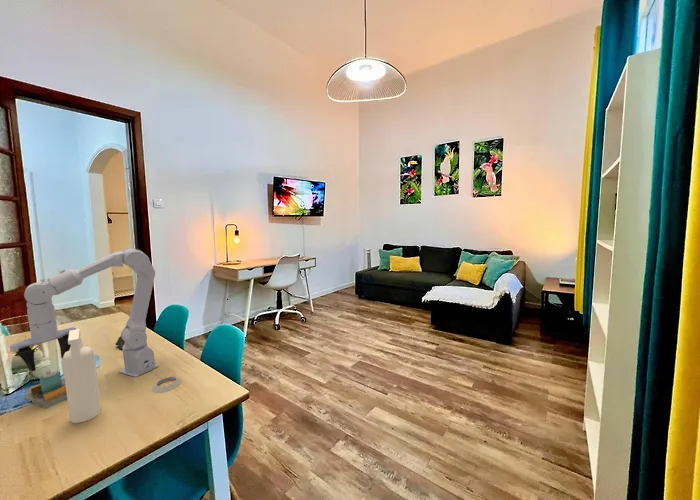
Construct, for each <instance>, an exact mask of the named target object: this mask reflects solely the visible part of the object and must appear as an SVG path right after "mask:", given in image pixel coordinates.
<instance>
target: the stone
mask: <svg viewBox="0 0 700 500" xmlns="http://www.w3.org/2000/svg"><path fill="white" fill-rule="evenodd" d="M124 343H125V342H124V340H123V339H122V338H121V335H120V336H119V337H118V339H117V340H116V342H115V343H114V344H115V346H118V347H119V349H121V350H122V351H123V349H122V347H123V345H124Z"/></svg>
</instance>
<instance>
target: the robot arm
mask: <svg viewBox="0 0 700 500" xmlns="http://www.w3.org/2000/svg"><path fill="white" fill-rule="evenodd" d="M124 265H125V266H127V267H128V268H131V270H133V272H134V273H136V274H137V279H136V280H137V281H136V285H135V290H134V295H133V300H132V304H131V308H130V312H129V313H130V314H129V318H128V319H127V321H126V323H125V326H124V328H123V329H122V330H121V332H120V336H121V338H122V339H123V340H124V342H125V343H124V345H123V347H122V349H123V350H122V349H121V350H122V354H123V355H122V356H123V365H124V367H123V369H120V370H119V371H118V372H119V373H121V374H125V375H128V376H130V377H133V378H137V377H140V376H141V375H143V374H146V373H147V372H149V371H152V370H154V369H156V368H158V367H159V366H158V365H157V364H156V362H155V353H154V350H153V349H152V348H150V347H149V346H148V342H147V341H148V340H147V339H148V336H147V333H146V330H147V323H146V319H147V316H148V315H147V314H148V309H149V304H150V301H151V295H152V291H153V286H154V281H155V276H156V270H155V269H154V266H153V265H152V263H151V261H150V257H149V256H148V255H147V254H145V252H143V251H142V250H140V249H137V248H134V247H127V248H124V249H122V250H119V251H116V252H113V253H110V254H108V255H105V256H103V257H102V258H101V257H100V259H97V260H95V261H93V262H90V263H88V264H87V265H84V266H83V267H81V268H79V269H74V268H67V269H65V268H63V269H61V270H59V273H56V274H54V275H51V276H49V277H48V278H44V277H43V278H41V279H39V281H38V282H34V283H30V284H29V285H28V286H27V287H26V288H25V290H24V293H23V296H24V299H25V301H26V308H27V309H26V313H27V319H28V326H29V331H30V337H29V338H26V339H24V340H21V341H19V342H15V343H12V344H9V350H10V352H11V353H16V354H17V356H19V357H20V359H22V360H23V362H24V363H25V365H26V366H27V368H28V371H29V372H35V371H36V364H35V357H34V356H35V349H32V347H34V346H37V345H41V344H44V343H47V342H51V341H55V340H57V342H58V345H59V348H60V349H59V351H60V357H61V359H62V358H63V356H64V354H65V352H67V351H69V350H71V344H69V345H68V337H69V331H70V330H75V329H77V327H74V326H73V327H68V328H64V329H59V330H58V325H57V317H56V310H55V305H54V304H53V296H58V295H60V294H63V293H64V292H66V291H69V290H72V289H74V288H75V287H78V286H80V285H82V283H83V280H84V279H85V278H87V277H88V278H89V276H92V275H95V274H97V273H100V272H102V271H104V270H107V269H109V268H111V267H116V268H117V267H119V268H121V267H124Z"/></svg>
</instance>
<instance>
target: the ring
mask: <svg viewBox="0 0 700 500" xmlns="http://www.w3.org/2000/svg"><path fill="white" fill-rule="evenodd" d="M170 381H174V382H172V383H170V384H167V385H162V386H160V385H161V384H163V383H165V382H170ZM182 382H183V381H182V379H180V378H179V377H176V376H167V377H163V378H161V379H160V380H157V382H156V383H155V384H154V385H153V386H152V388H151V392H152V393H155V394H162V393H163V394H164V393H167V392H170V391H172V390H174V389H176V388H178V387H179V386H180V385H182Z"/></svg>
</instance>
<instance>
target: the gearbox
mask: <svg viewBox="0 0 700 500" xmlns="http://www.w3.org/2000/svg"><path fill="white" fill-rule="evenodd" d="M61 381H62V387H59V388H57V389H55V390H52V391H50V392H47V393H45V394H44V395H43V394H42V389H41V383H39V384H36V385H33V386H31V387H29V388H28V389H29V392H28V393H26V394H24V397H25V400H26V399H28V400H30V401H29V402H31V401H32V402H31V403H33V402H34V403H33V404H35V403H36V404H35V405H38V406H39V407H42V408H44V409H48V408H49V407H52V406H54V405H57V404H59V403H61V402H63V401H65V400H67V393H66V386H65V379H64V378H63V379H62V378H61ZM28 400H27V401H28Z"/></svg>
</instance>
